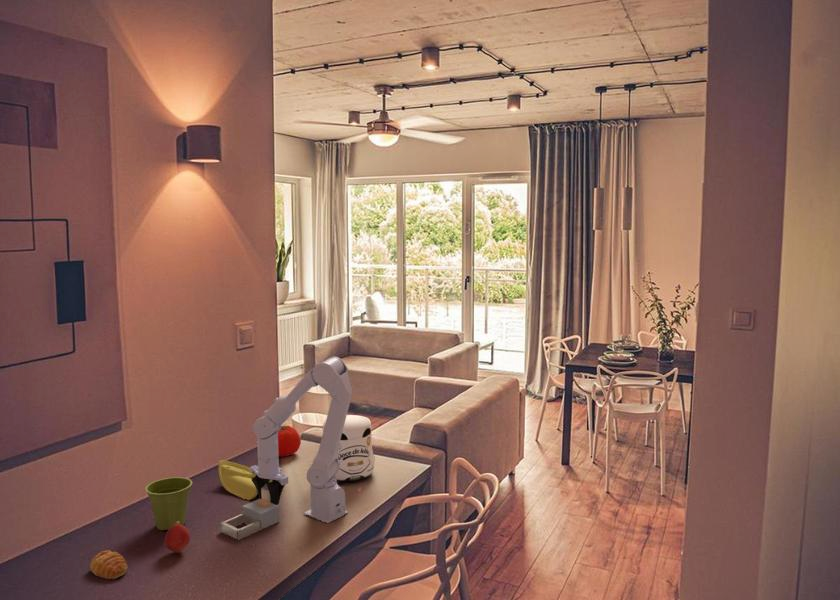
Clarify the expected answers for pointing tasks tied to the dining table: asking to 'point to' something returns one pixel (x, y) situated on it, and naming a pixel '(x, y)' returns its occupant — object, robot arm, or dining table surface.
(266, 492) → the cream capped bottle
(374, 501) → the dining table surface
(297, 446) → the tomato
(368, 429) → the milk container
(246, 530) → the beige tray
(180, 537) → the onion
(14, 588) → the dining table surface
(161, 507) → the plant pot
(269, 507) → the block
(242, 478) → the plastic component
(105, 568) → the pastry
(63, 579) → the dining table surface
